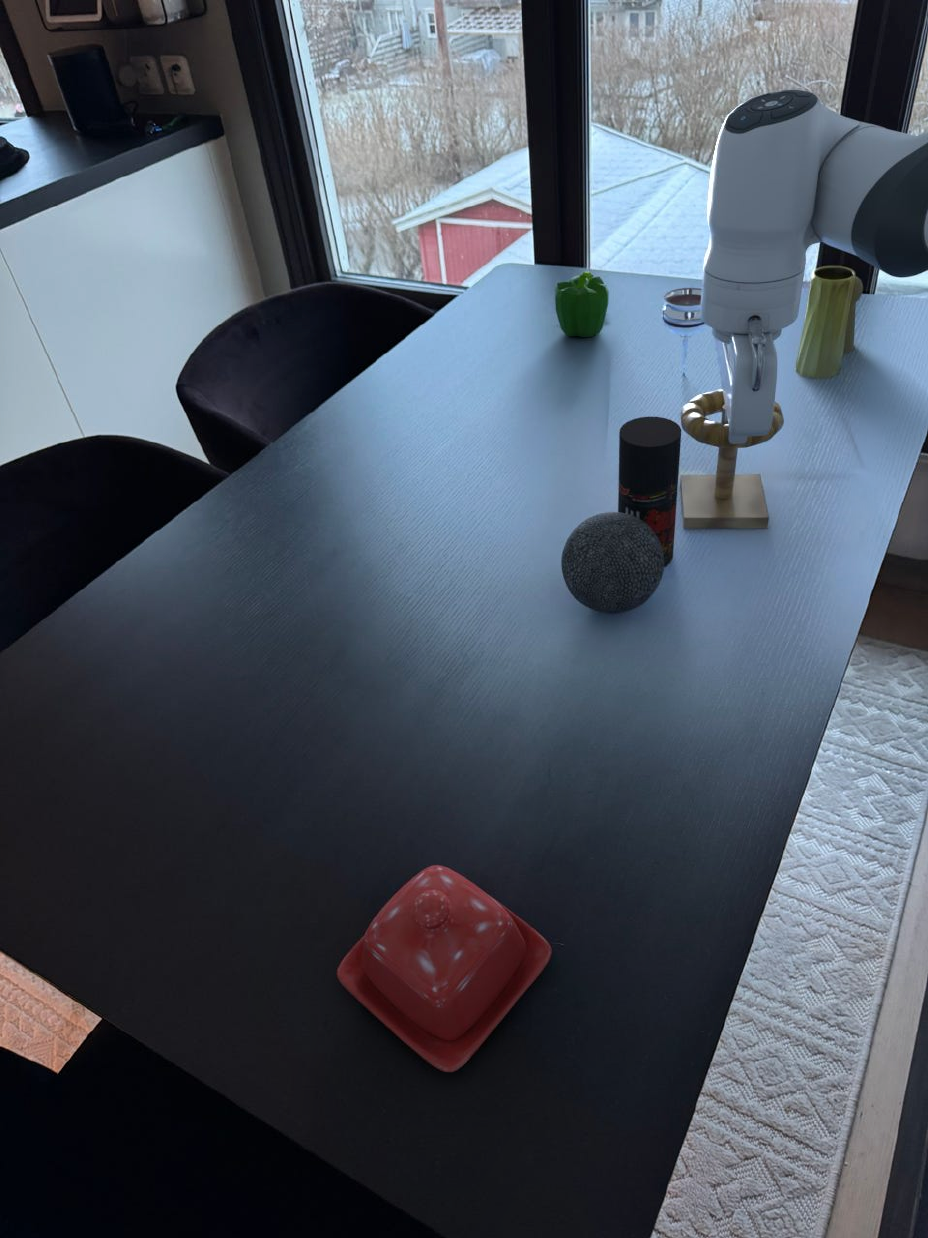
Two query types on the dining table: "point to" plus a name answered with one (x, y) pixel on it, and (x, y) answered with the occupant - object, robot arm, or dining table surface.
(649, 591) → the decorative ball
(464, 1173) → the dining table surface
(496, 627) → the dining table surface
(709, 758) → the dining table surface
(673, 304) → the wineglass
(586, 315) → the bell pepper
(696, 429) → the ring
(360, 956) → the butter dish
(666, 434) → the deodorant
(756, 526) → the post
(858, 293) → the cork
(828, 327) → the vase
